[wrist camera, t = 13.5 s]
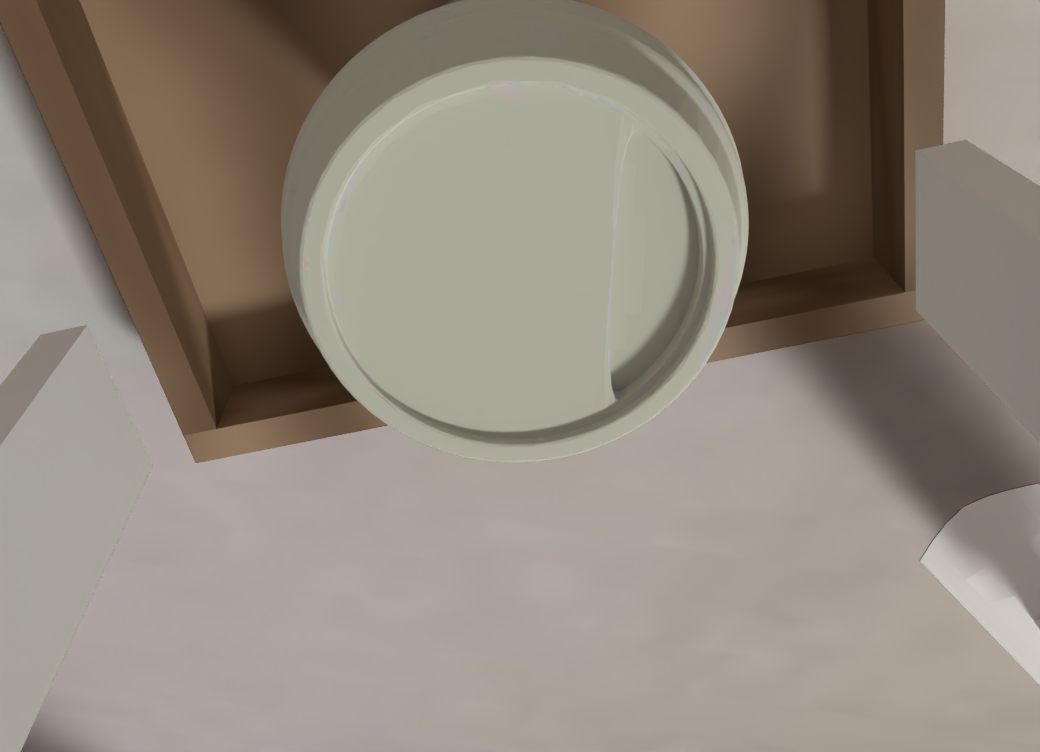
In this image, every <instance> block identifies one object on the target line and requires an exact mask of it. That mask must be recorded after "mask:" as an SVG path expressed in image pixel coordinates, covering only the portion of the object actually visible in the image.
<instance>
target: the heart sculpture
mask: <svg viewBox="0 0 1040 752" xmlns="http://www.w3.org/2000/svg"><path fill="white" fill-rule="evenodd" d="M920 562H921V563H922V564H923V565H924V566H925V567H926V568H927V569H928V570H929V571H930V572H931V573H932V574H933V575H934V576H935V577H936V578H937V579H938V580H939V581H940V582H941V583H942V584H943V585H944V586H945V587H946V588H947V589H948V591H949V592H950V593H951V594H952V595H953V596H954V597H955V598H956V599H957V600H958V601H959V602H960V603H961V604H962V605H963V606H964V607H965V608H966V609H967V610H968V611H969V612H970V613H971V614H972V615H973V616H974V617H975V618H976V620H977V621H978V622H979V623H980V624H981V625H982V626H983V627H984V628H985V629H986V630H987V631H988V632H989V633H990V634H991V635H992V636H993V637H994V638H995V639H996V640H997V641H998V642H999V643H1000V644H1001V645H1002V646H1003V648H1004V649H1005V650H1006V651H1007V652H1008V653H1009V654H1010V655H1011V656H1012V657H1013V658H1014V659H1015V660H1016V661H1017V662H1018V663H1019V664H1020V665H1021V666H1022V667H1023V668H1024V669H1025V670H1026V671H1027V672H1028V673H1029V674H1030V675H1031V677H1032V678H1033V679H1034V680H1035V681H1036V682H1037V683H1038V684H1039V685H1040V484H1034V485H1030V486H1025V487H1020V488H1016V489H1011V490H1008V491H1004V492H1001V493H998V494H994V495H991V496H987V497H985V498H983V499H980V500H978V501H976V502H974V503H971V504H969V505H967V506H964V507H963V508H962V509H961V510H960V511H959V512H958V513H957V514H956V515H955V516H953V517H952V518H951V519H950V520H949V521H948V522H947V523H946V524H945V526H944V527H943V528H942V530H941V531H940V532H939V533H938V535H937V536H936V537H935V539H934V540H933V541H932V543H931V544H930V546H929V547H928V549H927V551H926V552H925V554H924V555H923V557H922V558H921V560H920Z"/></svg>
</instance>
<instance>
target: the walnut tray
mask: <svg viewBox="0 0 1040 752" xmlns="http://www.w3.org/2000/svg"><path fill="white" fill-rule="evenodd" d="M448 1H450V0H0V22H1V24H2V27H3V29H4V31H5V34H6V36H7V38H8V40H9V43H10V45H11V47H12V49H13V52H14V54H15V56H16V58H17V61H18V63H19V65H20V67H21V70H22V72H23V74H24V76H25V79H26V81H27V83H28V85H29V88H30V90H31V92H32V95H33V97H34V99H35V101H36V104H37V106H38V108H39V110H40V113H41V115H42V117H43V119H44V122H45V124H46V126H47V128H48V131H49V133H50V135H51V137H52V140H53V142H54V144H55V146H56V149H57V151H58V153H59V155H60V158H61V160H62V162H63V165H64V167H65V169H66V171H67V174H68V176H69V178H70V180H71V183H72V185H73V187H74V189H75V192H76V194H77V196H78V198H79V201H80V203H81V205H82V207H83V210H84V212H85V214H86V216H87V219H88V221H89V223H90V225H91V228H92V230H93V232H94V235H95V237H96V239H97V241H98V244H99V246H100V248H101V250H102V253H103V255H104V257H105V259H106V262H107V264H108V266H109V268H110V271H111V273H112V275H113V277H114V280H115V282H116V284H117V286H118V289H119V291H120V293H121V296H122V298H123V300H124V302H125V305H126V307H127V309H128V311H129V314H130V316H131V318H132V320H133V323H134V325H135V327H136V329H137V332H138V334H139V336H140V338H141V341H142V343H143V345H144V347H145V350H146V352H147V354H148V356H149V359H150V361H151V363H152V366H153V368H154V370H155V372H156V375H157V377H158V379H159V381H160V384H161V386H162V388H163V390H164V393H165V395H166V397H167V399H168V402H169V404H170V406H171V408H172V411H173V413H174V415H175V417H176V420H177V422H178V424H179V426H180V429H181V431H182V433H183V436H184V438H185V440H186V442H187V445H188V447H189V449H190V451H191V454H192V456H193V458H194V460H195V463H199V462H204V461H209V460H214V459H219V458H224V457H230V456H235V455H240V454H245V453H250V452H255V451H260V450H265V449H270V448H275V447H280V446H286V445H291V444H296V443H301V442H306V441H311V440H316V439H321V438H326V437H331V436H336V435H342V434H347V433H352V432H357V431H362V430H367V429H372V428H377V427H382V426H387V424H386V423H384V422H383V421H382V420H380V419H379V418H377V417H376V416H375V415H373V414H372V413H371V412H369V411H368V410H367V409H366V408H365V407H364V406H363V405H362V404H361V403H360V402H358V401H357V400H356V399H355V398H354V397H353V396H352V394H351V393H350V392H349V391H348V390H347V389H346V388H345V387H344V386H343V385H342V383H341V382H340V381H339V379H338V378H337V377H336V375H335V374H334V373H333V371H332V370H331V368H330V367H329V365H328V364H327V362H326V360H325V359H324V357H323V356H322V354H321V352H320V350H319V349H318V347H317V346H316V344H315V343H314V341H313V339H312V338H311V336H310V334H309V333H308V331H307V329H306V327H305V325H304V323H303V321H302V319H301V317H300V315H299V312H298V310H297V307H296V305H295V302H294V299H293V296H292V293H291V291H290V287H289V283H288V279H287V275H286V270H285V263H284V256H283V245H282V233H281V204H282V193H283V186H284V180H285V175H286V170H287V166H288V162H289V159H290V156H291V152H292V149H293V147H294V144H295V141H296V139H297V136H298V134H299V132H300V129H301V127H302V125H303V123H304V121H305V119H306V117H307V116H308V114H309V112H310V110H311V109H312V107H313V105H314V104H315V102H316V101H317V99H318V98H319V96H320V95H321V93H322V92H323V91H324V89H325V88H326V87H327V85H328V84H329V83H330V82H331V80H332V79H333V78H334V77H335V76H336V74H337V73H338V72H339V71H340V70H341V69H342V68H343V67H344V66H345V65H346V64H347V63H348V62H349V61H350V60H351V59H352V58H353V57H354V56H355V55H357V54H358V53H359V52H360V51H361V50H363V49H364V48H365V47H366V46H367V45H369V44H370V43H371V42H373V41H374V40H376V39H377V38H378V37H380V36H381V35H383V34H384V33H386V32H388V31H389V30H391V29H392V28H394V27H396V26H398V25H399V24H401V23H403V22H405V21H407V20H409V19H411V18H413V17H415V16H418V15H420V14H422V13H425V12H427V11H430V10H432V9H435V8H438V7H440V6H441V5H443V4H445V3H446V2H448ZM572 1H576V2H580V3H584V4H587V5H590V6H594V7H597V8H599V9H602V10H605V11H607V12H610V13H612V14H614V15H617V16H619V17H621V18H623V19H625V20H627V21H629V22H631V23H633V24H635V25H636V26H638V27H640V28H641V29H643V30H645V31H646V32H648V33H649V34H651V35H652V36H654V37H655V38H657V39H658V40H659V41H661V42H662V43H663V44H665V45H666V46H667V47H668V48H669V49H671V50H672V51H673V52H674V53H675V54H676V55H677V56H678V57H680V58H681V59H682V60H683V61H684V62H685V63H686V64H687V65H688V66H689V68H690V69H691V70H692V71H693V72H694V73H695V74H696V75H697V77H698V78H699V79H700V80H701V82H702V83H703V84H704V85H705V87H706V88H707V90H708V91H709V93H710V94H711V96H712V97H713V99H714V100H715V102H716V103H717V105H718V107H719V109H720V110H721V112H722V114H723V116H724V118H725V120H726V122H727V124H728V127H729V129H730V131H731V134H732V136H733V139H734V142H735V145H736V148H737V151H738V154H739V158H740V162H741V167H742V171H743V177H744V182H745V187H746V194H747V202H748V217H749V231H748V245H747V254H746V259H745V265H744V269H743V273H742V278H741V281H740V284H739V287H738V291H737V294H736V296H735V299H734V303H733V307H732V311H731V313H730V316H729V319H728V321H727V324H726V327H725V329H724V332H723V334H722V336H721V338H720V340H719V342H718V344H717V346H716V348H715V350H714V351H713V353H712V354H711V356H710V357H709V359H708V361H707V362H706V363H708V362H713V361H718V360H723V359H728V358H734V357H739V356H744V355H749V354H754V353H759V352H764V351H769V350H774V349H779V348H784V347H790V346H795V345H800V344H805V343H810V342H815V341H820V340H825V339H830V338H835V337H840V336H846V335H851V334H856V333H861V332H866V331H871V330H876V329H881V328H886V327H891V326H896V325H902V324H907V323H912V322H917V321H922V320H924V319H923V318H922V317H921V315H920V314H919V313H918V312H917V311H916V163H915V151H916V150H920V149H925V148H930V147H934V146H939V145H943V108H944V33H945V0H572Z"/></svg>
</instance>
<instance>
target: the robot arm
mask: <svg viewBox="0 0 1040 752" xmlns="http://www.w3.org/2000/svg"><path fill="white" fill-rule="evenodd" d="M915 163H916V311H917V312H918V313H919V314H920V315H921V317H922V318H923V319H924V320H925V321H926V322H927V323H928V324H929V325H930V326H931V327H932V328H933V329H934V330H935V331H936V333H937V334H938V335H939V336H940V337H941V338H942V339H943V340H944V341H945V342H946V343H947V344H948V345H949V346H950V347H951V349H952V350H953V351H954V352H955V353H956V354H957V355H958V356H959V357H960V358H961V359H962V360H963V361H964V362H965V363H966V365H967V366H968V367H969V368H970V369H971V370H972V371H973V372H974V373H975V374H976V375H977V376H978V377H979V378H980V379H981V380H982V382H983V383H984V384H985V385H986V386H987V387H988V388H989V389H990V390H991V391H992V392H993V393H994V394H995V395H996V396H997V398H998V399H999V400H1000V401H1001V402H1002V403H1003V404H1004V405H1005V406H1006V407H1007V408H1008V409H1009V410H1010V411H1011V412H1012V414H1013V415H1014V416H1015V417H1016V418H1017V419H1018V420H1019V421H1020V422H1021V423H1022V424H1023V425H1024V426H1025V427H1026V428H1027V430H1028V431H1029V432H1030V433H1031V434H1032V435H1033V436H1034V437H1035V438H1036V439H1037V440H1038V441H1039V442H1040V186H1038V185H1037V184H1035V183H1034V182H1032V181H1030V180H1029V179H1027V178H1026V177H1024V176H1022V175H1021V174H1019V173H1018V172H1016V171H1014V170H1013V169H1011V168H1010V167H1008V166H1007V165H1005V164H1003V163H1002V162H1000V161H999V160H997V159H995V158H994V157H992V156H991V155H989V154H987V153H986V152H984V151H983V150H981V149H980V148H978V147H976V146H975V145H973V144H972V143H970V142H968V141H967V140H963V141H958V142H953V143H949V144H944V145H939V146H934V147H930V148H925V149H920V150H916V151H915ZM152 466H153V465H152V463H151V461H150V459H149V456H148V454H147V452H146V450H145V448H144V446H143V444H142V441H141V439H140V437H139V435H138V433H137V431H136V429H135V426H134V424H133V422H132V420H131V418H130V416H129V414H128V412H127V409H126V407H125V405H124V403H123V401H122V399H121V397H120V394H119V392H118V390H117V388H116V386H115V384H114V382H113V379H112V377H111V375H110V373H109V371H108V369H107V367H106V364H105V362H104V360H103V358H102V356H101V354H100V352H99V349H98V347H97V345H96V343H95V341H94V339H93V337H92V334H91V332H90V330H89V328H88V326H87V325H85V326H80V327H76V328H71V329H66V330H61V331H57V332H52V333H47V334H42V335H40V336H39V338H38V339H37V340H36V341H35V343H34V344H33V345H32V346H31V348H30V349H29V350H28V351H27V353H26V354H25V355H24V357H23V358H22V359H21V360H20V362H19V363H18V364H17V365H16V367H15V368H14V369H13V370H12V372H11V373H10V374H9V375H8V377H7V378H6V379H5V380H4V382H3V383H2V384H1V385H0V752H21V750H22V748H23V745H24V743H25V741H26V739H27V737H28V735H29V732H30V730H31V728H32V726H33V724H34V722H35V719H36V717H37V715H38V713H39V711H40V709H41V706H42V704H43V702H44V700H45V698H46V696H47V693H48V691H49V689H50V687H51V685H52V683H53V681H54V678H55V676H56V674H57V672H58V670H59V668H60V665H61V663H62V661H63V659H64V657H65V655H66V652H67V650H68V648H69V646H70V644H71V642H72V639H73V637H74V635H75V633H76V631H77V629H78V626H79V624H80V622H81V620H82V618H83V616H84V613H85V611H86V609H87V607H88V605H89V603H90V600H91V598H92V596H93V594H94V592H95V590H96V587H97V585H98V583H99V581H100V579H101V577H102V575H103V572H104V570H105V568H106V566H107V564H108V562H109V559H110V557H111V555H112V553H113V551H114V549H115V546H116V544H117V542H118V540H119V538H120V536H121V533H122V531H123V529H124V527H125V525H126V523H127V520H128V518H129V516H130V514H131V512H132V510H133V507H134V505H135V503H136V501H137V499H138V497H139V494H140V492H141V490H142V488H143V486H144V484H145V482H146V479H147V477H148V475H149V473H150V471H151V469H152Z"/></svg>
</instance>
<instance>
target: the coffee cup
mask: <svg viewBox="0 0 1040 752" xmlns="http://www.w3.org/2000/svg"><path fill="white" fill-rule="evenodd" d="M748 231H749V217H748V202H747V194H746V187H745V182H744V177H743V171H742V167H741V162H740V158H739V154H738V151H737V148H736V145H735V142H734V139H733V136H732V134H731V131H730V129H729V127H728V124H727V122H726V120H725V118H724V116H723V114H722V112H721V110H720V109H719V107H718V105H717V103H716V102H715V100H714V99H713V97H712V96H711V94H710V93H709V91H708V90H707V88H706V87H705V85H704V84H703V83H702V82H701V80H700V79H699V78H698V77H697V75H696V74H695V73H694V72H693V71H692V70H691V69H690V68H689V66H688V65H687V64H686V63H685V62H684V61H683V60H682V59H681V58H680V57H678V56H677V55H676V54H675V53H674V52H673V51H672V50H671V49H669V48H668V47H667V46H666V45H665V44H663V43H662V42H661V41H659V40H658V39H657V38H655V37H654V36H652V35H651V34H649V33H648V32H646V31H645V30H643V29H641V28H640V27H638V26H636V25H635V24H633V23H631V22H629V21H627V20H625V19H623V18H621V17H619V16H617V15H614V14H612V13H610V12H607V11H605V10H602V9H599V8H597V7H594V6H590V5H587V4H584V3H580V2H576V1H572V0H450V1H448V2H446V3H445V4H443V5H441V6H440V7H438V8H435V9H432V10H430V11H427V12H425V13H422V14H420V15H418V16H415V17H413V18H411V19H409V20H407V21H405V22H403V23H401V24H399V25H398V26H396V27H394V28H392V29H391V30H389V31H388V32H386V33H384V34H383V35H381V36H380V37H378V38H377V39H376V40H374V41H373V42H371V43H370V44H369V45H367V46H366V47H365V48H364V49H363V50H361V51H360V52H359V53H358V54H357V55H355V56H354V57H353V58H352V59H351V60H350V61H349V62H348V63H347V64H346V65H345V66H344V67H343V68H342V69H341V70H340V71H339V72H338V73H337V74H336V76H335V77H334V78H333V79H332V80H331V82H330V83H329V84H328V85H327V87H326V88H325V89H324V91H323V92H322V93H321V95H320V96H319V98H318V99H317V101H316V102H315V104H314V105H313V107H312V109H311V110H310V112H309V114H308V116H307V117H306V119H305V121H304V123H303V125H302V127H301V129H300V132H299V134H298V136H297V139H296V141H295V144H294V147H293V149H292V152H291V156H290V159H289V162H288V166H287V170H286V175H285V180H284V186H283V193H282V204H281V233H282V245H283V256H284V263H285V270H286V275H287V279H288V283H289V287H290V291H291V293H292V296H293V299H294V302H295V305H296V307H297V310H298V312H299V315H300V317H301V319H302V321H303V323H304V325H305V327H306V329H307V331H308V333H309V334H310V336H311V338H312V339H313V341H314V343H315V344H316V346H317V347H318V349H319V350H320V352H321V354H322V356H323V357H324V359H325V360H326V362H327V364H328V365H329V367H330V368H331V370H332V371H333V373H334V374H335V375H336V377H337V378H338V379H339V381H340V382H341V383H342V385H343V386H344V387H345V388H346V389H347V390H348V391H349V392H350V393H351V394H352V396H353V397H354V398H355V399H356V400H357V401H358V402H360V403H361V404H362V405H363V406H364V407H365V408H366V409H367V410H368V411H369V412H371V413H372V414H373V415H375V416H376V417H377V418H379V419H380V420H382V421H383V422H384V423H386V424H387V425H389V426H390V427H392V428H393V429H395V430H397V431H399V432H400V433H402V434H404V435H405V436H407V437H409V438H411V439H413V440H416V441H418V442H420V443H423V444H425V445H427V446H430V447H432V448H434V449H437V450H441V451H444V452H448V453H451V454H454V455H458V456H462V457H468V458H473V459H479V460H484V461H498V462H532V461H543V460H550V459H557V458H562V457H566V456H570V455H574V454H578V453H582V452H586V451H588V450H591V449H594V448H597V447H600V446H603V445H605V444H607V443H609V442H612V441H614V440H616V439H618V438H621V437H622V436H624V435H626V434H628V433H630V432H631V431H633V430H635V429H637V428H638V427H640V426H641V425H643V424H644V423H646V422H648V421H649V420H651V419H652V418H654V417H655V416H656V415H657V414H659V413H660V412H661V411H662V410H663V409H665V408H666V407H667V406H668V405H669V404H671V403H672V402H673V401H674V400H675V399H676V398H677V397H678V396H679V395H680V394H681V393H682V392H683V391H684V390H685V389H686V388H687V387H688V386H689V385H690V383H691V382H692V381H693V380H694V378H695V377H696V376H697V375H698V374H699V372H700V371H701V370H702V369H703V367H704V365H705V364H706V362H707V361H708V359H709V357H710V356H711V354H712V353H713V351H714V350H715V348H716V346H717V344H718V342H719V340H720V338H721V336H722V334H723V332H724V329H725V327H726V324H727V321H728V319H729V316H730V313H731V311H732V307H733V303H734V299H735V296H736V294H737V291H738V287H739V284H740V281H741V278H742V273H743V269H744V265H745V259H746V254H747V245H748Z"/></svg>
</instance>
